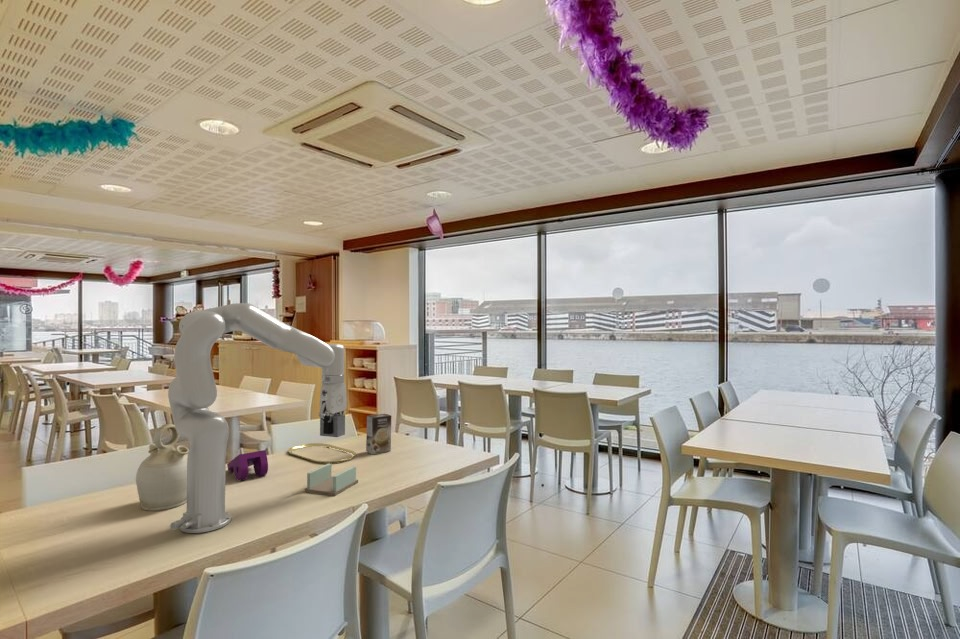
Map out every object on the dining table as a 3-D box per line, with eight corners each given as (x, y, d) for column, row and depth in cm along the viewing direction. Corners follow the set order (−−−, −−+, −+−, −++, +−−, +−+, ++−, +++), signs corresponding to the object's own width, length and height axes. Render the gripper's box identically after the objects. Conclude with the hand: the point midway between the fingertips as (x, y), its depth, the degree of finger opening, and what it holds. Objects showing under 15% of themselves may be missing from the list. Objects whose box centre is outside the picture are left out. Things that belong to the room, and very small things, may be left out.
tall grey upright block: (337, 437, 165) (337, 416, 165) (319, 435, 167) (320, 415, 167) (344, 434, 169) (345, 414, 169) (327, 432, 171) (328, 413, 171)
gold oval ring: (326, 468, 191) (327, 464, 191) (279, 452, 212) (279, 449, 212) (364, 457, 206) (364, 454, 206) (317, 444, 227) (317, 441, 227)
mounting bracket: (227, 488, 182) (242, 478, 171) (224, 466, 185) (238, 454, 174) (253, 483, 189) (269, 472, 178) (249, 461, 192) (265, 449, 180)
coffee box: (372, 455, 209) (372, 417, 209) (365, 451, 214) (366, 415, 214) (391, 451, 215) (391, 415, 215) (384, 448, 220) (384, 413, 220)
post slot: (334, 495, 159) (335, 477, 159) (304, 491, 163) (304, 473, 163) (358, 482, 173) (358, 465, 173) (329, 479, 176) (329, 462, 176)
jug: (203, 501, 154) (204, 422, 154) (148, 517, 141) (149, 431, 141) (180, 491, 162) (181, 417, 162) (126, 505, 150) (127, 424, 150)
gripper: (327, 383, 159) (326, 438, 159) (355, 377, 175) (355, 428, 175) (308, 381, 161) (307, 436, 161) (338, 376, 177) (337, 426, 177)
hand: (332, 431), depth 168 cm, fingers closed on tall grey upright block, 4 cm apart
